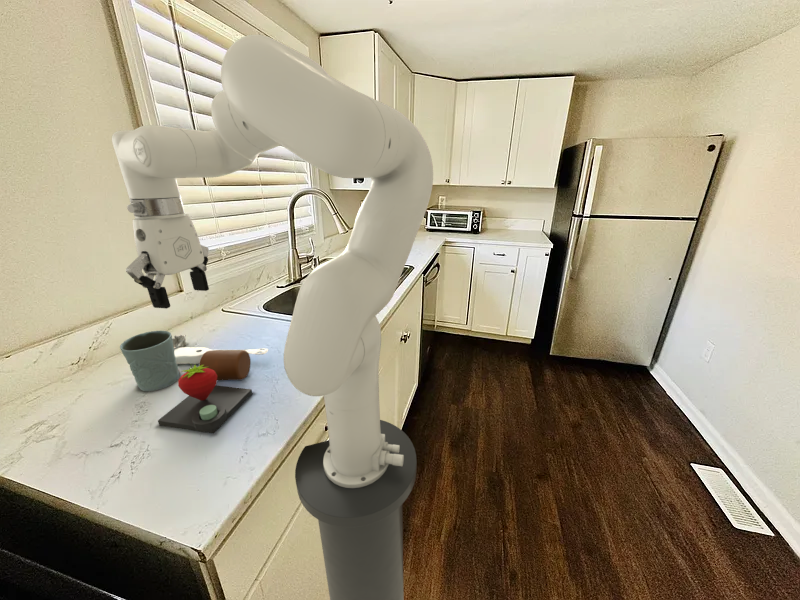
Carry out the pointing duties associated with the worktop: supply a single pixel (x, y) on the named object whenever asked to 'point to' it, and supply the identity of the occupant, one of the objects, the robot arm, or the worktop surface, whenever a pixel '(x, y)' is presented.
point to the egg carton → (179, 341)
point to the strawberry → (198, 382)
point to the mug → (227, 363)
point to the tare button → (208, 412)
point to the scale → (190, 407)
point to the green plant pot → (151, 359)
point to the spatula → (201, 354)
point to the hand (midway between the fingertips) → (183, 298)
